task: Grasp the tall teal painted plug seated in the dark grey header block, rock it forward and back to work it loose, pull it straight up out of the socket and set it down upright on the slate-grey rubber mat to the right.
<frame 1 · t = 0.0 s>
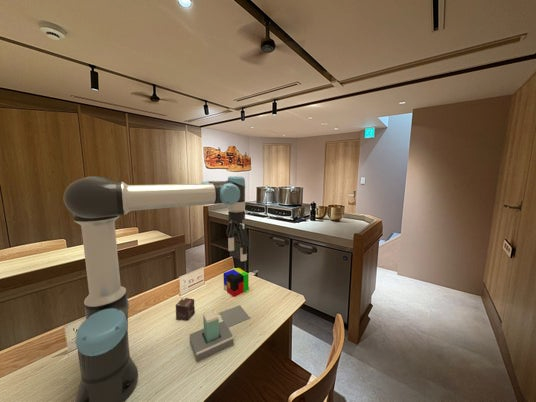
hand: (237, 255, 99), 28 cm above the table, fingers open, 13 cm apart
puzzle toy: (236, 290, 120), on the table
mat: (234, 316, 98), on the table
header: (211, 344, 82), on the table
plug: (211, 343, 82), resting on header
box: (185, 316, 98), on the table
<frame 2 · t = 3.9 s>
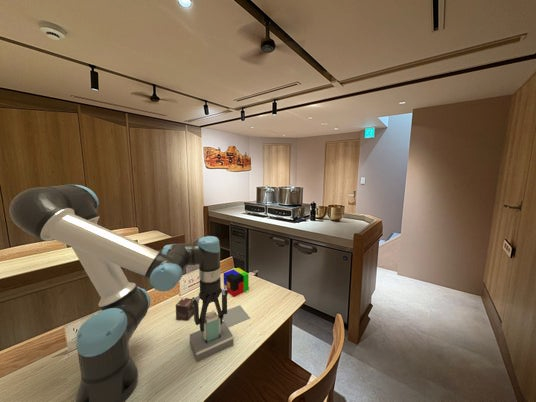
hand: (211, 334, 82), 4 cm above the table, fingers closed on plug, 5 cm apart
plug: (211, 343, 82), point 1 cm above the table, touching gripper, header
everything else where it was.
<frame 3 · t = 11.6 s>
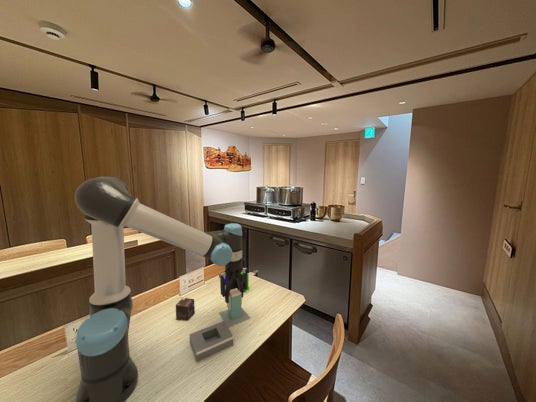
hand: (234, 306, 98), 5 cm above the table, fingers closed on plug, 5 cm apart
plug: (234, 315, 98), point 1 cm above the table, touching gripper, mat
everything else where it was.
when the fingers open (5 cm above the table, at t = 11.8 s): plug stays where it is, resting on mat.
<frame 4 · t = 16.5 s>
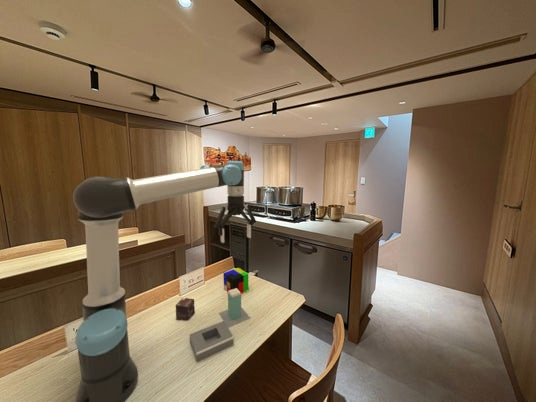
hand: (236, 239, 100), 35 cm above the table, fingers open, 13 cm apart
plug: (234, 315, 98), point 1 cm above the table, touching mat
everything else where it was.
at the end: plug inside the target area on the mat (0.2 cm from its centre), point 0.6 cm above the mat's base; plug tilted 0°; the gripper is holding nothing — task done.
